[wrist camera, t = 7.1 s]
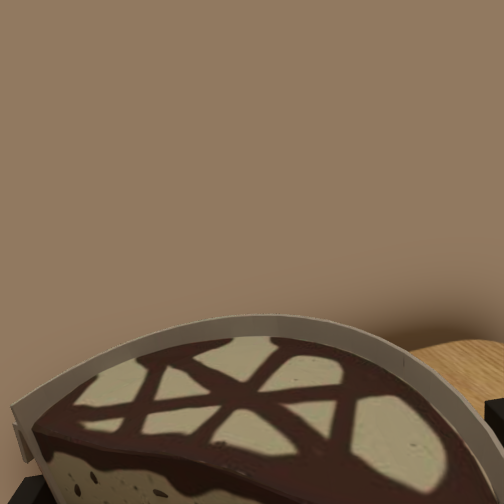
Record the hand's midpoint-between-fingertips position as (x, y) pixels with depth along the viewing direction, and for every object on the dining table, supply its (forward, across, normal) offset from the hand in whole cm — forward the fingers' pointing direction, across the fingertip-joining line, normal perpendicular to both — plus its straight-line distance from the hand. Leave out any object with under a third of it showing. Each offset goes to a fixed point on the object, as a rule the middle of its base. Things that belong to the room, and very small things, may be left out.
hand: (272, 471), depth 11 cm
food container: (0, 0, -6) cm, 6 cm away
